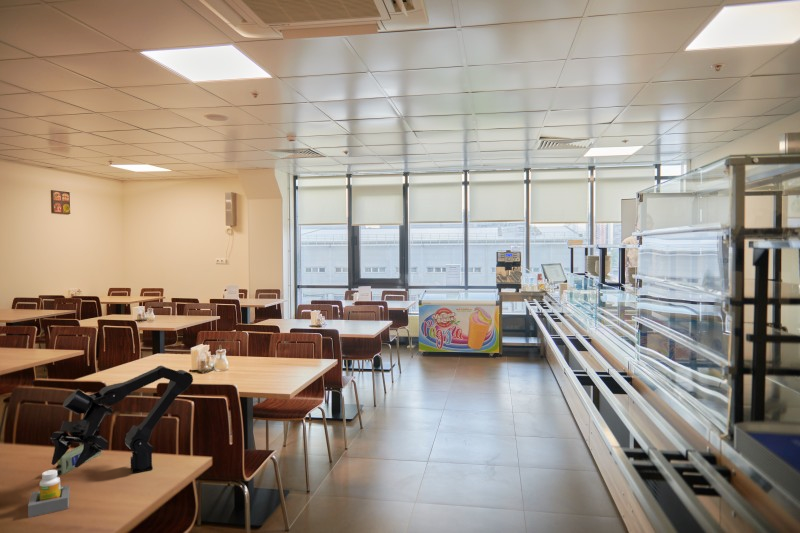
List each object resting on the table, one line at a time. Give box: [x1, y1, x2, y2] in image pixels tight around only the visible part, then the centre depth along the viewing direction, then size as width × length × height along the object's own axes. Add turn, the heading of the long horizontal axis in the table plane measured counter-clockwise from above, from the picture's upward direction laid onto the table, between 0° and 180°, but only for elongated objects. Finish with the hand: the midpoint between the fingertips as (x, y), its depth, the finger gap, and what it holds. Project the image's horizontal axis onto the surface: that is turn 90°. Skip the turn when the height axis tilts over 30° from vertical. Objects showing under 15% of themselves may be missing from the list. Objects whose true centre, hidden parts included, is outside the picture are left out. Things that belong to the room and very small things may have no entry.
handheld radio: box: [55, 444, 102, 476], centre depth 191 cm, size 7×3×25 cm
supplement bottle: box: [39, 469, 61, 501], centre depth 161 cm, size 5×5×10 cm
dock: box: [27, 484, 71, 518], centre depth 161 cm, size 10×10×4 cm
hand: (64, 465), depth 166 cm, fingers open, 9 cm apart
